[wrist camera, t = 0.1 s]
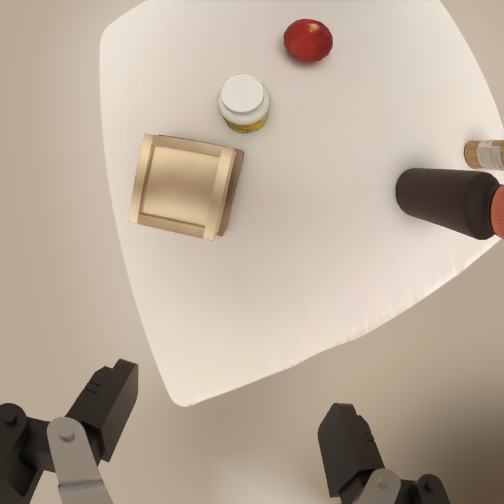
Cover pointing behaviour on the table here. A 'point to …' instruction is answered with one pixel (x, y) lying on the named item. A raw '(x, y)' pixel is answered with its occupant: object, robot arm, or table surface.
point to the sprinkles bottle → (485, 154)
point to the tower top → (181, 185)
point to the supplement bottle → (244, 103)
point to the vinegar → (454, 200)
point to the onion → (308, 40)
